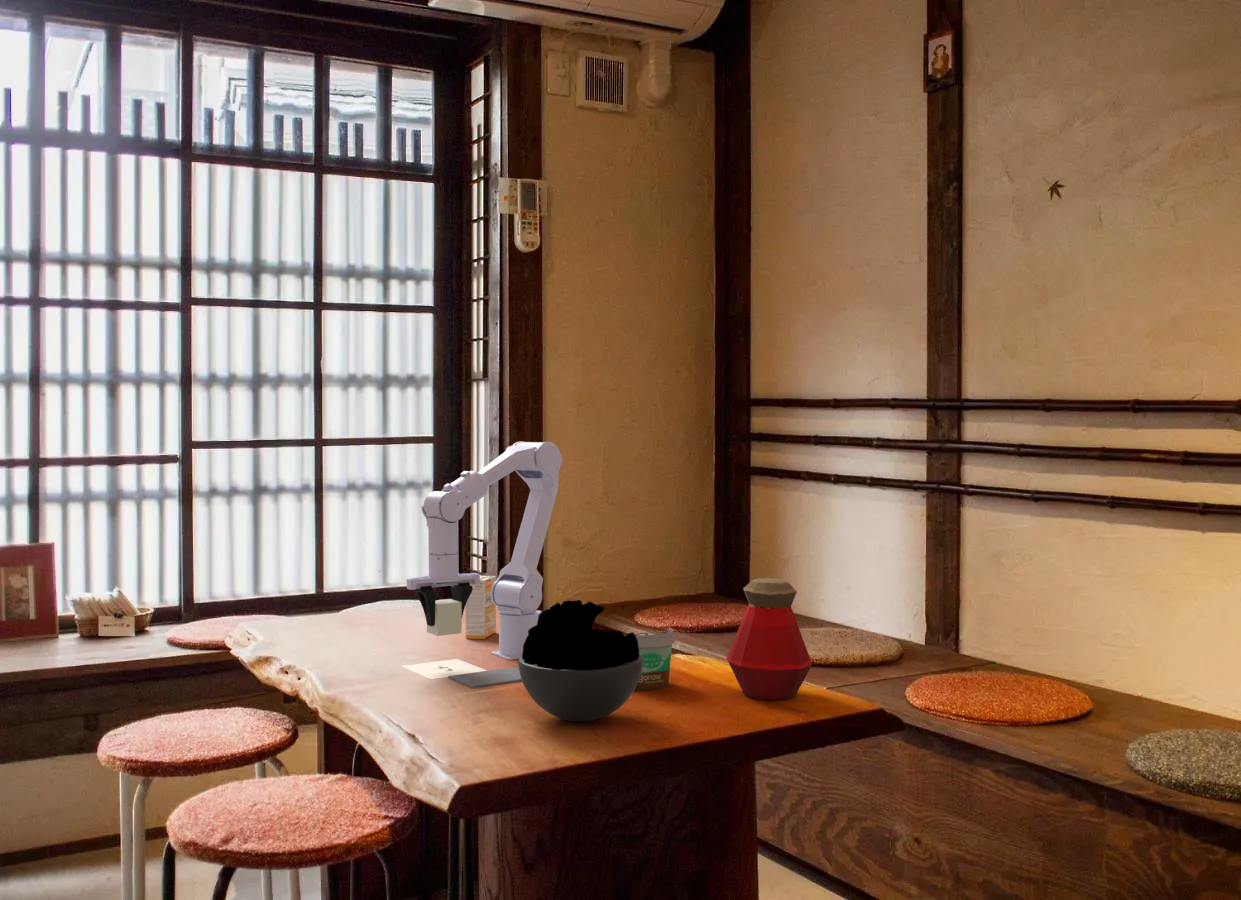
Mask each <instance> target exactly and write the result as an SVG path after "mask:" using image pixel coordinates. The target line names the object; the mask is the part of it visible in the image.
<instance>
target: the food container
mask: <svg viewBox="0 0 1241 900" xmlns="http://www.w3.org/2000/svg"><path fill="white" fill-rule="evenodd" d="M623 635H626V634H624V633H623ZM634 635H635V636H636V638H637V640H638V646H639V654H640V655H641V656H642V657H643V667H642V672H641V676H640V678H639V681H638V684H637V686H636V688H635V690H636V691H637V692H639V691H640V692H644V691H645V692H650V691H651V692H652V691H659V690H663V689H667V688H668V687H669V682H670V671H671V670H670V669H671V660H672V648H673V644H675V643H677V642H676V641H677V640H676V635H675V632H674V629H673V628H671V627H670V626H669V627H668V629H667V631H663V632H655V633H654V632H640V633H639V632H638V633H636V634H635V633H634ZM635 690H634V691H635Z"/></svg>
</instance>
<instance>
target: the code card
mask: <svg viewBox="0 0 1241 900" xmlns="http://www.w3.org/2000/svg"><path fill="white" fill-rule="evenodd" d="M401 667H402V668H404V669H407V670H409V671H411V672H413V673H416V674H418V675H420V676H422V677H425V678H427V679H430V680H435V679H443V678H448V676H452V675H459V674H467V673H474V672H481V671H488V670H486V669H485V668H481V667H479V666H476V665H474V664H471V663H469V662H466V661H463V660H460V659H459V658H454V659H446V660H438V661H429V662H422V663H416V664H409V665H408V664H407V665H406V664H405V665H401Z"/></svg>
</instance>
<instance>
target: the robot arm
mask: <svg viewBox="0 0 1241 900" xmlns="http://www.w3.org/2000/svg"><path fill="white" fill-rule="evenodd" d="M562 463H563V457H562V454H561V452H560V450H559V448H558V447H557V445H556V444H555V443H553V442H552V441H543V442H541V441H538V442H537V441H523V440H522V441H521V440H519V441H516V442H514V443H513V444H512V445H510V446H508V447H506V448H505V451H504V452H503V453H501V454H500V455H499V456H498V457H496V458H495V459H493V460H492V461H491V462H489V464H487V465H486V466H484V467H483V468H481V469H480V470H479V471H478V472H477V471H474V470H470V471H469V470H463V471H462V472H461V473H460V477H459V478H457V479H455V480H454V481H453V482H450V483H446V484H445V485H443V488H442V489H441V491H440V490H439V491H438V490H437V491H436V490H435V491H434V490H433V491H432V492H429V494H427V496H426V497H425V499H424V502H423V505H421V506H420V507H421V512H422V515H423V516H424V518H425V519H426V527H427V529H428V531H427V532H428V533H427V535H428V539H427V541H428V575H425V576H418V577H411V578H406V589H407V590H411V591H413V590H414V593H415V594H416V597H417V598H418V600H419V602H420V605H421V606H422V609H423V613H424V616H425V620H426V626H427V625H429V626H434V625H435V601H436V600H437V595H438V592H437V591H436V590H434V588H442V587H448V586H449V587H450V591H451V599H452V600H456V601H459V602H461V607H462V617H463V616H464V611H465V609H466V603H467V600H468V598H469V596H470V594H471V593H472V590H473V586H470V584H480V576H481V573H478V572H477V573H476V572H472V573H470V572H469V573H459V520H461V519H462V518H463V516H464V515H465V511H466V509H468V508H469V507H471V506H472V505H474V504H475V503H476V502H478V501H479V500H481V499H482V498H483V497H486V495H487V494H488V490H489V489H488V488H489V486H491V485H493V484H494V483H496V482H498V481H499V480H501V479H503V478H504V477H506V476H508V475H509V474H511V473H513V472H514V471H515V472H516V474H517V475H518V476H519V477H520V478H521V479H522V480H523V481H524V482H525V483H526V485H527V486H528V488H529V490H530V491H529V493H528V499H527V502H526V505H525V508H524V511H523V512H524V513H523V517H522V520H521V523H520V526H519V527H520V528H519V529H518V533H517V534H518V535H517V538H516V541H515V545H514V549H513V552H512V556H511V560H510V562H509V563H508V564H506V565H505V566H504V567H503V568H501V569H500V571H499V574H498V577H497V578H496V581H495V583H494V584H493V586H492V589H491V599H492V601H493V603H494V604H495V605H496V612H498V648H499V649H498V650H492V651H491V654H492V655H494V656H496V657H500V658H502V659H505V660H506V661H512V660H518V659H519V657H520V656H522V653H523V645H524V642H525V640H526V638H527V636H528V635H529V634H528V630H529V629H530V628H532V627H534V626H536V625H537V622H538V617H539V614H540V613H541V612H543V611H542V610H539V609H538V608H539V607H540V605H541V603H542V601H543V591H542V589H543V588H542V587H543V581H544V578H543V576H542V575H541V573H540V572H539V571H538V569H537V568H538V564H539V561H540V558H541V554H542V550H543V547H544V542H545V539H546V535H547V532H548V529H549V524H550V520H551V516H552V513H553V509H554V505H555V501H556V498H557V494H558V491H559V473H560V470H561V469H560V468H561V466H562ZM537 609H538V610H537Z"/></svg>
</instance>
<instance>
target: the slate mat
mask: <svg viewBox="0 0 1241 900" xmlns="http://www.w3.org/2000/svg"><path fill="white" fill-rule="evenodd" d="M447 679H449V680H451V681H454V682H457V683H458V684H461V685H462V686H465V687H468V688H470V689H478V688H483V687H491V686H497V685H498V686H499V685H507V684H513V683H519V682H522V679H521V676H520V672H519V667H516V666H512V667H504V668H497V669H489V670H487V671H481V672H474V673H467V674H459V675H452V676H448V677H447Z"/></svg>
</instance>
